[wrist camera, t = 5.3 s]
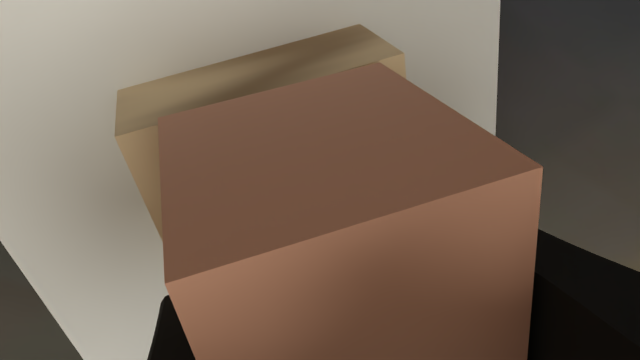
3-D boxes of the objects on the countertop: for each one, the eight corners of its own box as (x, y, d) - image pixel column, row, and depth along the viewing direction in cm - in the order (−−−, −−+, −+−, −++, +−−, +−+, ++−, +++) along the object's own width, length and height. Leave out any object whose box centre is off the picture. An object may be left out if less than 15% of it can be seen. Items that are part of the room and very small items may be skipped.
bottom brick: (359, 23, 12) (404, 53, 10) (382, 211, 16) (419, 261, 14) (117, 90, 11) (114, 136, 9) (196, 275, 15) (207, 338, 13)
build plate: (481, -149, 12) (506, -151, 11) (476, 224, 19) (491, 240, 18) (-144, -10, 10) (-169, 0, 9) (102, 359, 17) (101, 385, 16)
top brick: (379, 61, 10) (543, 166, 6) (396, 238, 12) (523, 403, 8) (157, 117, 9) (164, 284, 5) (218, 294, 12) (257, 511, 7)
